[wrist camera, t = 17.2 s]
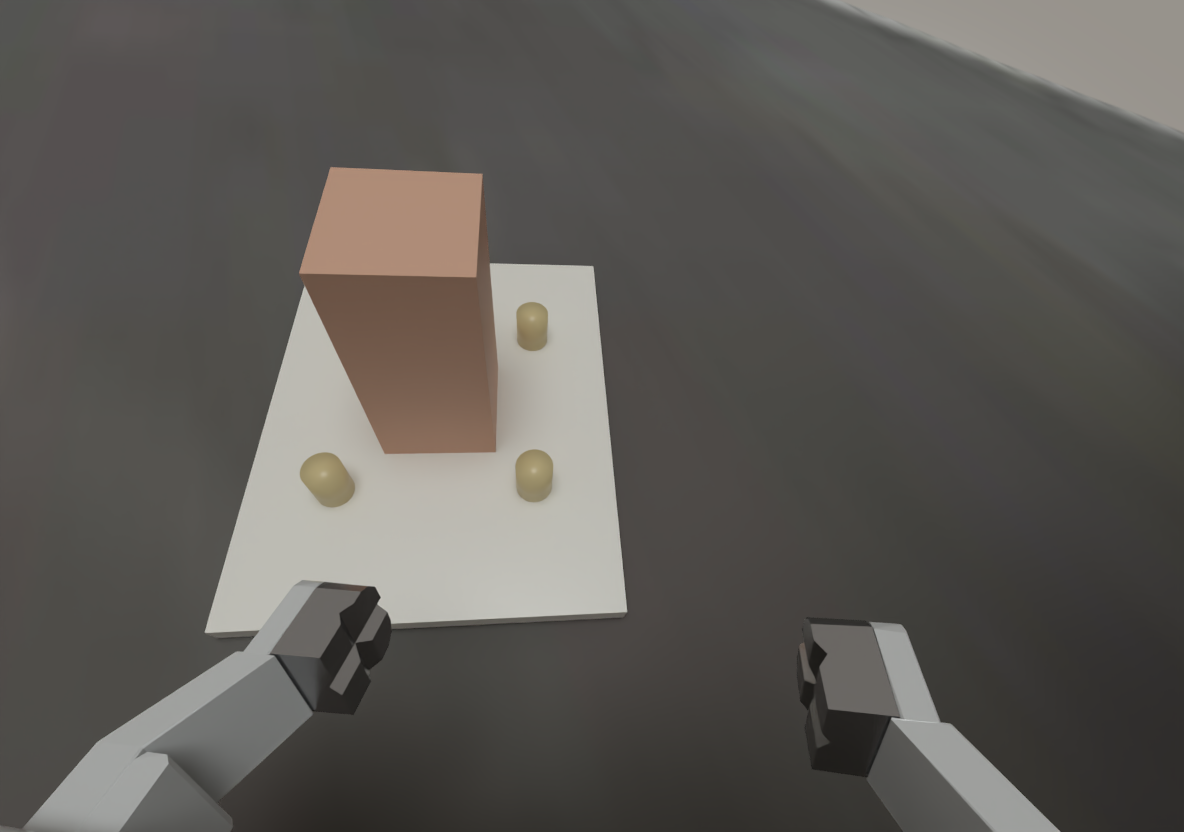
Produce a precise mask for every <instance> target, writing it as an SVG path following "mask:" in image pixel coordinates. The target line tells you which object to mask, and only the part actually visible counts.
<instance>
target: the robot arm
mask: <svg viewBox="0 0 1184 832" xmlns="http://www.w3.org/2000/svg"><path fill="white" fill-rule="evenodd" d="M380 598H381V597H380V595H379V593H378V591H377V589H376V587H374V586H363V585H353V584H342V583H332V582H322V581H310V580H301V581H300V582H298V583H297V584H295V585H294V586H293V587H292V588H291V589H290V591H289V592H288V593H287V595H286V596H285V597H284V599H283V600H282V601H281V603H280V604H279V605H278V607H277V608H276V609H275V611H274V612H273V613H272V615H271V616H270V617H269V619H268V620H267V621H266V623H265V624H264V625H263V627H262V628H261V629H260V631H259V632H258V633H257V635H256V636H255V637H254V639H253V640H252V641H251V643H250V644H249V645H248V646H247V648H246V649H245V650H244V652H235V653H234V654H232V655H230V656H229V657H227V658H226V659H224V660H223V661H221V662H220V663H218V664H217V665H215V666H214V667H212V668H210V669H209V670H207V671H206V672H204V673H203V674H201V675H200V676H198V677H197V678H195V679H193V680H192V681H190V682H189V683H187V684H186V685H184V686H183V687H181V688H180V689H178V690H177V691H175V692H173V693H172V694H170V695H169V696H167V697H166V698H164V699H163V700H161V701H160V702H158V703H157V704H155V705H153V706H152V707H150V708H149V709H147V710H146V711H144V712H143V713H141V714H140V715H138V716H136V717H135V718H133V719H132V720H130V721H129V722H127V723H126V724H124V725H123V726H121V727H120V728H118V729H116V730H115V731H113V732H112V733H110V734H109V735H107V736H106V737H104V738H103V739H101V740H100V741H98V742H97V743H96V744H95V745H94V746H93V748H92V749H91V750H90V751H89V752H88V753H87V754H86V756H85V757H84V758H83V759H82V760H81V761H80V763H79V764H78V765H77V766H76V767H75V768H74V770H73V771H72V772H71V773H70V774H69V775H68V776H67V778H66V779H65V780H64V781H63V782H62V783H61V785H60V786H59V787H58V788H57V789H56V790H55V791H54V793H53V794H52V795H51V796H50V797H49V798H48V800H47V801H46V802H45V803H44V804H43V805H42V806H41V808H40V809H39V810H38V811H37V812H36V813H35V815H34V816H33V817H32V818H31V819H30V820H29V822H28V823H27V824H26V825H25V826H24V827H23V828H22V829H18V828H13V827H7V826H2V825H0V832H230V831H231V830H232V828H233V822H232V818H231V817H230V816H229V815H228V814H227V813H226V812H225V811H224V810H223V809H222V808H221V807H220V806H219V805H218V804H217V802H218V801H219V800H220V799H222V798H223V797H224V796H225V795H226V794H227V793H228V792H229V791H230V790H231V789H232V788H234V787H235V786H236V785H237V784H238V783H239V782H240V781H241V780H242V779H243V778H244V777H245V776H247V775H248V774H249V773H250V772H251V771H252V770H253V769H254V768H255V767H256V766H257V765H258V764H260V763H261V762H262V761H263V760H264V759H265V758H266V757H267V756H268V755H269V754H270V753H271V752H273V751H274V750H275V749H276V748H277V747H278V746H279V745H280V744H281V743H282V742H283V741H285V740H286V739H287V738H288V737H289V736H290V735H291V734H292V733H293V732H294V731H295V730H296V729H298V728H299V727H300V726H301V725H302V724H303V723H304V722H305V721H306V720H307V719H308V718H309V717H311V716H312V715H313V712H312V711H316V712H328V713H339V714H351V715H354V713H355V711H356V709H357V707H358V705H359V703H360V701H361V699H362V698H363V696H364V694H365V692H366V690H367V688H368V686H369V684H370V682H371V679H370V673H369V670H370V669H371V668H372V667H373V666H375V665H376V664H377V663H379V662H380V661H381V660H382V658H383V656H384V654H385V652H386V650H387V648H388V646H389V641H390V637H391V632H392V628H391V620H390V617H389V615H388V612H387V611H385V610H384V609H383V608H381V607H380V606H379V605H378V604H377V603H378V602H379V600H380ZM802 633H803V638H804V643H802V644H801V645H799V648H798V655H797V681H798V690H799V696H800V702H801V703H802V704H803V705H804V706H805V708H806V709H807V710H808V715H807V720H806V724H805V733H806V738H807V744H808V750H809V756H810V762H811V767H812V769H814V770H821V771H827V772H834V773H841V774H848V775H855V776H862V777H868V778H867V781H868V783H869V784H870V786H871V787H872V789H873V790H874V791H875V793H876V794H877V796H878V797H879V798H880V800H881V801H882V803H883V804H884V805H885V807H886V808H887V810H888V811H889V812H890V814H891V815H892V817H893V818H894V819H895V821H896V822H897V824H898V825H899V827H900V828H901V829H902V831H903V832H1060V831H1059V830H1058V829H1057V828H1056V827H1055V826H1054V825H1053V824H1052V823H1051V822H1050V821H1049V820H1048V819H1047V818H1046V817H1045V816H1044V815H1043V814H1042V813H1041V812H1040V811H1039V810H1038V809H1037V808H1036V807H1035V806H1034V805H1033V804H1032V803H1031V802H1030V801H1029V800H1028V799H1027V798H1026V797H1025V796H1024V795H1023V794H1022V793H1021V792H1020V791H1019V790H1018V789H1017V788H1016V787H1015V786H1014V785H1012V784H1011V783H1010V782H1009V781H1008V780H1007V779H1006V778H1005V777H1004V776H1003V775H1002V774H1001V773H1000V772H999V771H998V770H997V769H996V768H995V767H994V766H993V765H992V764H991V763H990V762H989V761H988V760H987V759H986V758H985V757H984V756H983V755H982V754H981V753H980V752H979V751H978V750H977V749H976V748H975V747H974V746H973V745H972V744H971V743H970V742H969V741H968V740H967V739H966V738H965V737H964V736H963V735H962V734H961V733H960V732H959V731H958V730H957V729H956V728H955V727H954V726H953V725H952V724H949V723H942V722H940V720H939V717H938V714H937V712H936V709H935V706H934V704H933V701H932V698H931V696H930V693H929V690H928V688H927V685H926V682H925V680H924V677H923V674H922V672H921V669H920V666H919V664H918V661H917V658H916V656H915V653H914V650H913V648H912V645H911V642H910V640H909V637H908V634H907V632H906V630H905V629H904V627H903V626H902V625H901V624H896V623H878V622H867V621H862V620H844V619H827V618H810V617H807V618H806V619H805V620H804V623H803V628H802Z"/></svg>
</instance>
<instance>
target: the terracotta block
mask: <svg viewBox="0 0 1184 832" xmlns="http://www.w3.org/2000/svg"><path fill="white" fill-rule="evenodd" d="M299 275H300V277H301V279H302V281H303V283H304V285H305V287H306V289H307V292H308V294H309V296H310V298H311V300H312V302H313V304H314V306H315V308H316V310H317V313H318V315H319V317H320V319H321V321H322V323H323V325H324V327H325V329H326V331H327V334H328V336H329V338H330V340H331V342H332V344H333V346H334V348H335V350H336V353H337V355H338V357H339V359H340V361H341V363H342V365H343V367H344V369H345V371H346V374H347V376H348V378H349V380H350V382H351V384H352V386H353V388H354V390H355V393H356V395H357V397H358V399H359V401H360V403H361V405H362V407H363V409H364V411H365V414H366V416H367V418H368V420H369V422H370V424H371V426H372V428H373V430H374V432H375V435H376V437H377V439H378V441H379V443H380V445H381V447H382V449H383V451H384V454H416V453H483V452H496V423H497V387H498V360H497V348H496V335H495V323H494V311H493V298H492V286H491V274H490V261H489V249H488V236H487V224H486V212H485V199H484V187H483V175H482V174H472V173H449V172H426V171H403V170H380V169H358V168H335V167H331V168H330V171H329V175H328V178H327V181H326V185H325V188H324V191H323V195H322V198H321V201H320V205H319V208H318V211H317V215H316V218H315V222H314V225H313V228H312V232H311V235H310V238H309V242H308V245H307V248H306V252H305V255H304V258H303V262H302V265H301V268H300V272H299Z"/></svg>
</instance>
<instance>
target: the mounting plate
mask: <svg viewBox="0 0 1184 832" xmlns="http://www.w3.org/2000/svg"><path fill="white" fill-rule="evenodd" d="M490 274H491V286H492V298H493V311H494V323H495V335H496V348H497V360H498V387H497V423H496V452H483V453H416V454H384V451H383V449H382V447H381V445H380V443H379V441H378V439H377V437H376V435H375V432H374V430H373V428H372V426H371V424H370V422H369V420H368V418H367V416H366V414H365V411H364V409H363V407H362V405H361V403H360V401H359V399H358V397H357V395H356V393H355V390H354V388H353V386H352V384H351V382H350V380H349V378H348V376H347V374H346V371H345V369H344V367H343V365H342V363H341V361H340V359H339V357H338V355H337V353H336V350H335V348H334V346H333V344H332V342H331V340H330V338H329V336H328V334H327V331H326V329H325V327H324V325H323V323H322V321H321V319H320V317H319V315H318V313H317V310H316V308H315V306H314V304H313V302H312V300H311V298H310V296H309V294H308V292H307V289H306V287H305V286H304V289H303V293H302V296H301V300H300V303H299V307H298V310H297V314H296V317H295V321H294V324H293V328H292V331H291V334H290V338H289V341H288V345H287V348H286V352H285V355H284V359H283V362H282V366H281V369H280V373H279V376H278V380H277V383H276V387H275V390H274V394H273V397H272V400H271V404H270V407H269V411H268V414H267V418H266V421H265V425H264V428H263V432H262V435H261V439H260V442H259V446H258V449H257V453H256V456H255V459H254V463H253V466H252V470H251V473H250V477H249V480H248V484H247V487H246V491H245V494H244V498H243V501H242V505H241V508H240V512H239V515H238V519H237V522H236V525H235V529H234V532H233V536H232V539H231V543H230V546H229V550H228V553H227V557H226V560H225V564H224V567H223V571H222V574H221V578H220V581H219V585H218V588H217V591H216V595H215V598H214V602H213V605H212V609H211V612H210V616H209V619H208V623H207V626H206V630H205V633H206V634H208V635H211V636H214V637H216V638H228V637H247V636H256V635H257V633H258V632H259V631H260V629H261V628H262V627H263V625H264V624H265V623H266V621H267V620H268V619H269V617H270V616H271V615H272V613H273V612H274V611H275V609H276V608H277V607H278V605H279V604H280V603H281V601H282V600H283V599H284V597H285V596H286V595H287V593H288V592H289V591H290V589H291V588H292V587H293V586H294V585H295V584H297V583H298V582H300V581H301V580H310V581H322V582H332V583H342V584H353V585H363V586H374V587H376V589H377V591H378V593H379V595H380V597H381V598H380V600H379V602H378V603H377V604H378V605H379V606H380V607H381V608H383V609H384V610H385V611H387V612H388V615H389V617H390V620H391V628H392V629H405V628H425V627H444V626H464V625H484V624H504V623H523V622H543V621H563V620H582V619H602V618H622V617H624V616H625V615H626V613H627V605H626V595H625V585H624V575H623V565H622V554H621V544H620V534H619V524H618V514H617V503H616V493H615V483H614V473H613V463H612V452H611V442H610V432H609V422H608V412H607V401H606V391H605V381H604V371H603V361H602V350H601V340H600V330H599V320H598V309H597V299H596V289H595V279H594V269H593V266H565V265H526V264H490Z"/></svg>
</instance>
